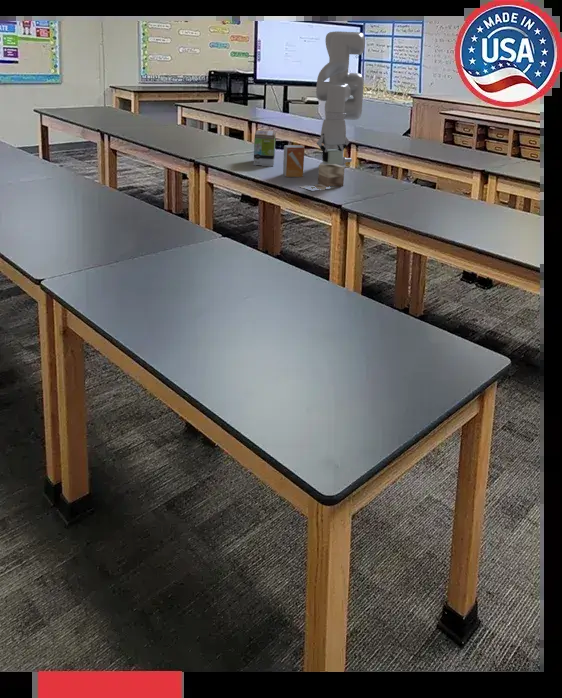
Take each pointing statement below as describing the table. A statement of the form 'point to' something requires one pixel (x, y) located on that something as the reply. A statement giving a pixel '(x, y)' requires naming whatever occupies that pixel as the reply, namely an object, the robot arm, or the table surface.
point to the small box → (293, 161)
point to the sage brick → (334, 156)
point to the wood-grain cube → (331, 175)
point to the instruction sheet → (317, 187)
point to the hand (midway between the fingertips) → (332, 160)
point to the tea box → (264, 148)
